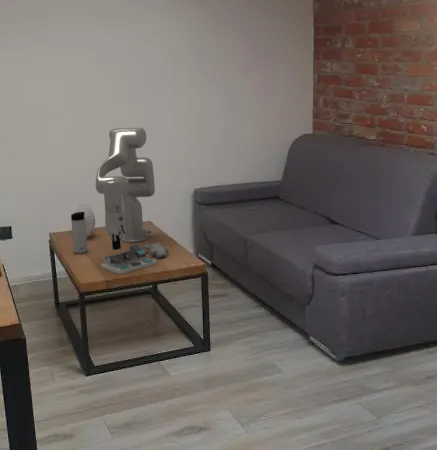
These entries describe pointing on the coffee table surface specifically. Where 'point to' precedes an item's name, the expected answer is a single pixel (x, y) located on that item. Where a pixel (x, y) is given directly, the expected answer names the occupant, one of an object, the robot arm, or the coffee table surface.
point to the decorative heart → (87, 217)
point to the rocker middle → (128, 253)
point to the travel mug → (79, 233)
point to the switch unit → (127, 263)
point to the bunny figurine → (157, 250)
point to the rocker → (114, 256)
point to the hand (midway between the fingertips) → (116, 249)
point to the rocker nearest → (138, 251)
